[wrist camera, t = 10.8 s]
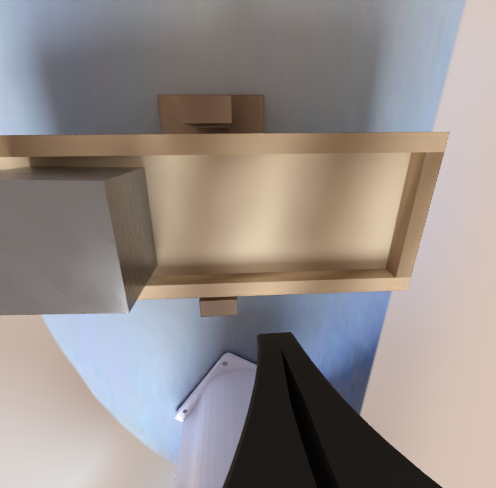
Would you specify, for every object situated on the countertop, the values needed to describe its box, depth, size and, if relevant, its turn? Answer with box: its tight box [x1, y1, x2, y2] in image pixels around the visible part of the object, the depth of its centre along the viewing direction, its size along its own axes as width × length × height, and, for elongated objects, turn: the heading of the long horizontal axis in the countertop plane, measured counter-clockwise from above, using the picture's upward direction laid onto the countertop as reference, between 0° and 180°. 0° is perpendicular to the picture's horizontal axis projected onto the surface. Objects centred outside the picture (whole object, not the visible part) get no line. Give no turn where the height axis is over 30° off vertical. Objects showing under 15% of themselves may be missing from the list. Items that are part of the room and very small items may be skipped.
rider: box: [0, 166, 157, 315], centre depth 11 cm, size 5×5×4 cm
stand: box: [158, 95, 264, 317], centre depth 15 cm, size 6×12×6 cm, turn 1°
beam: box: [0, 132, 449, 300], centre depth 13 cm, size 20×8×2 cm, turn 90°
